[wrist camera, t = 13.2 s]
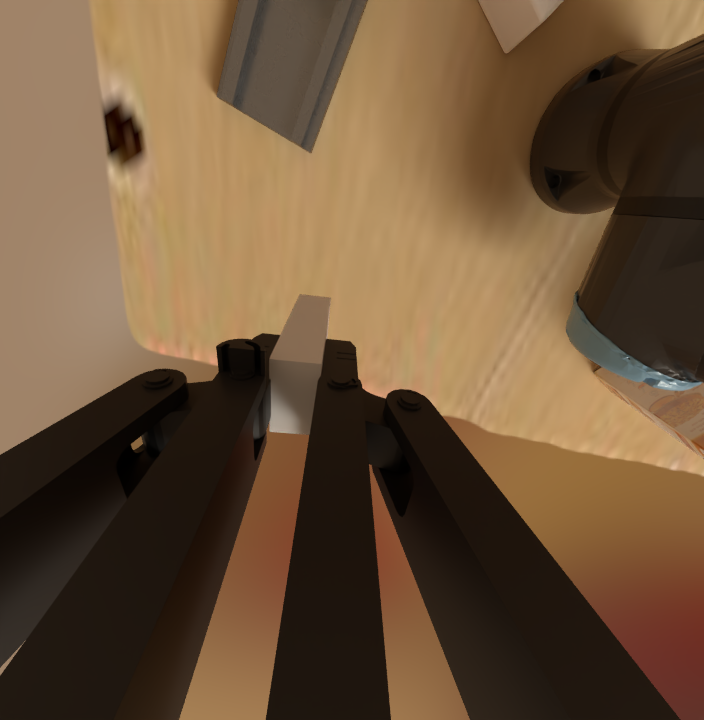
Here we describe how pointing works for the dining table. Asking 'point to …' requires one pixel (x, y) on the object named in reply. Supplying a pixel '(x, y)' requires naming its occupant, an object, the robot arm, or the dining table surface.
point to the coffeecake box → (663, 407)
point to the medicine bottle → (516, 18)
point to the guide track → (288, 62)
